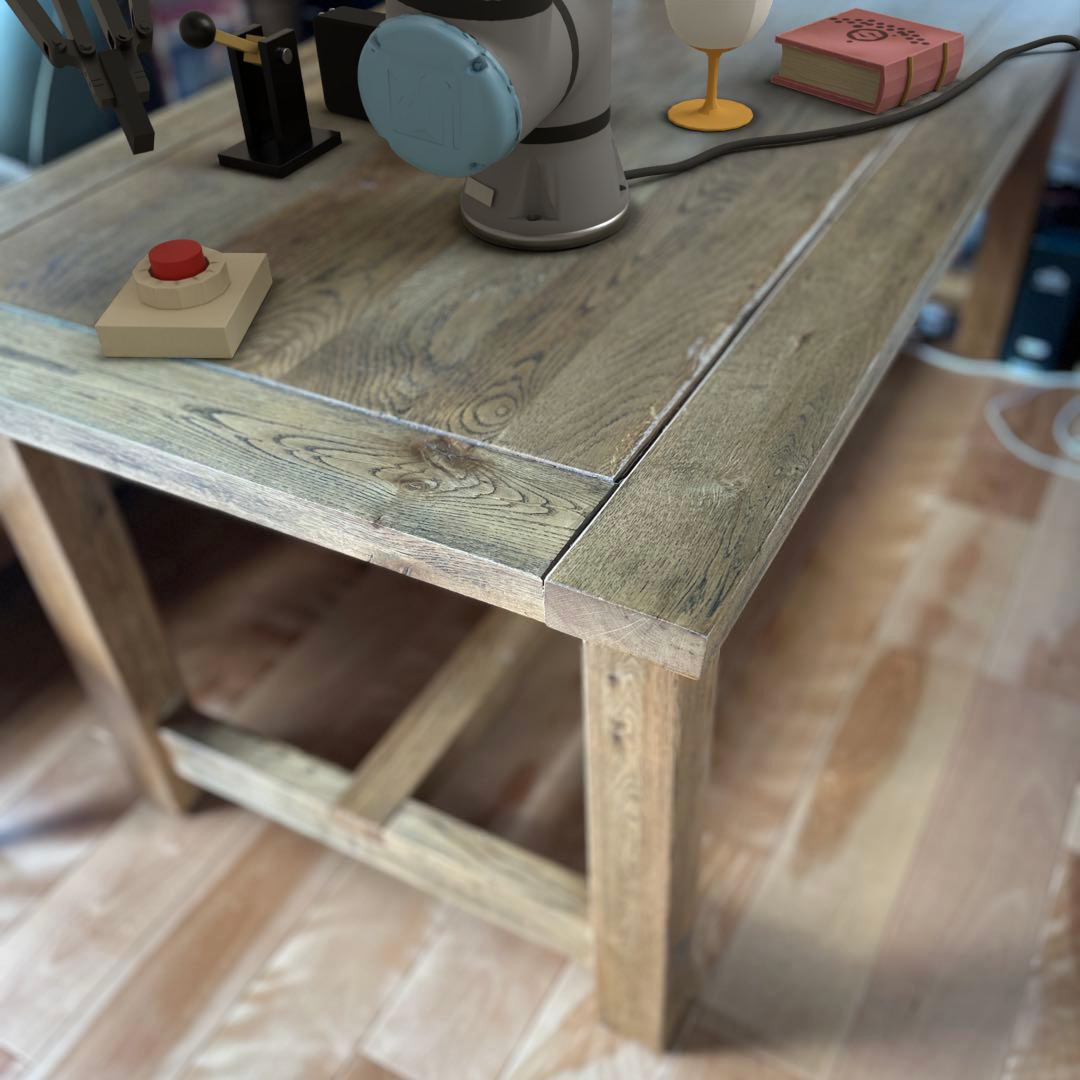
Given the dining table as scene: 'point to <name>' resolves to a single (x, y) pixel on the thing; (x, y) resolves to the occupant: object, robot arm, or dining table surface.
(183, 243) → the power button
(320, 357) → the dining table surface
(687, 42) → the cup
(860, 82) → the book
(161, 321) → the power block
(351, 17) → the electronic device
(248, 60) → the lever
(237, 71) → the lamp switch
